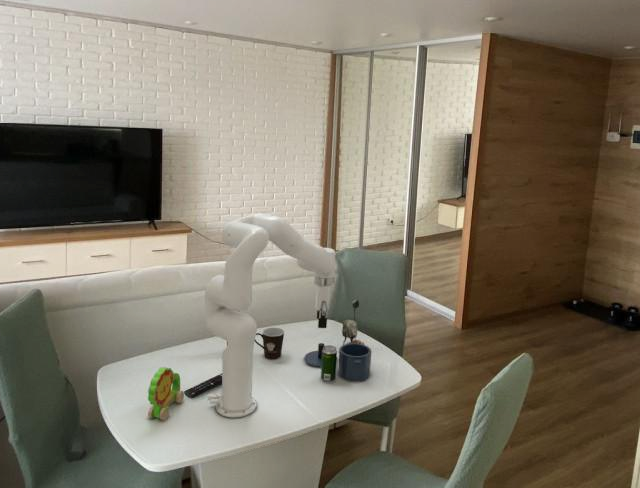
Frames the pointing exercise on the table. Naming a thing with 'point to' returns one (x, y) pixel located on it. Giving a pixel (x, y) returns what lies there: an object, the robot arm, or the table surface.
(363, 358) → the pot
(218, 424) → the table surface
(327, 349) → the beer can
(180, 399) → the toy lion
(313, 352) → the lid
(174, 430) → the table surface
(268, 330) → the coffee mug
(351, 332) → the plant with pod
